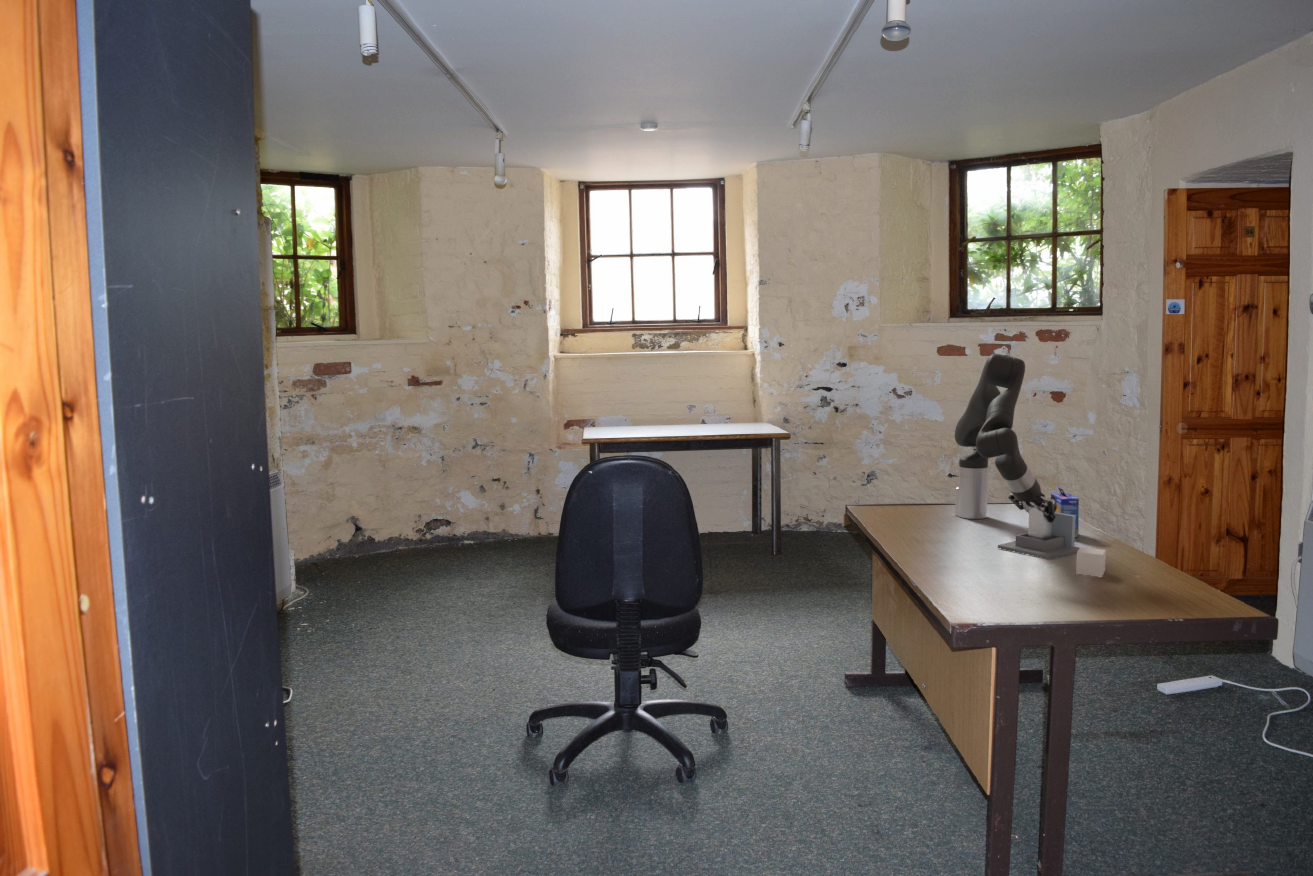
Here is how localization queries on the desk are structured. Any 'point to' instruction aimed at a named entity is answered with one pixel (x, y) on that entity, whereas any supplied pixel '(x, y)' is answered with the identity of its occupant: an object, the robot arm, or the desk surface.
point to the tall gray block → (1039, 525)
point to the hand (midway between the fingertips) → (1044, 518)
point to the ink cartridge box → (1067, 506)
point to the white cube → (1090, 561)
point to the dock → (1051, 548)
